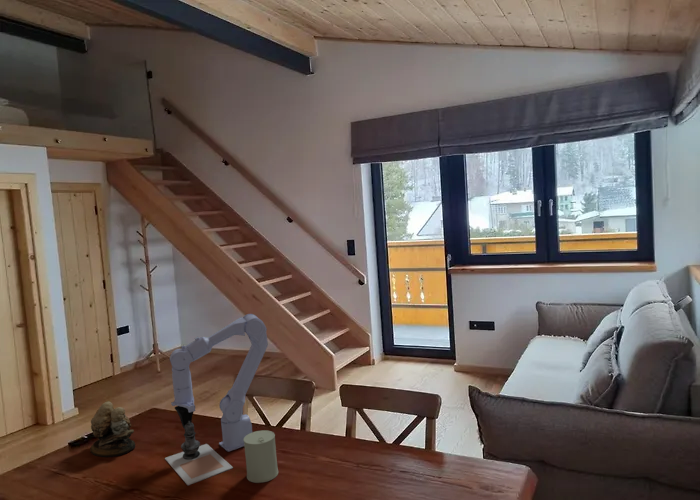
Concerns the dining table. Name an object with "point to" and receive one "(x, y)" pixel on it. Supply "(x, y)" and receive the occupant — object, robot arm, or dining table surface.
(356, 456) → the dining table surface
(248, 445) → the can
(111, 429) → the rock sculpture
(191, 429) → the dark grey chess piece
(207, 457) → the mat
